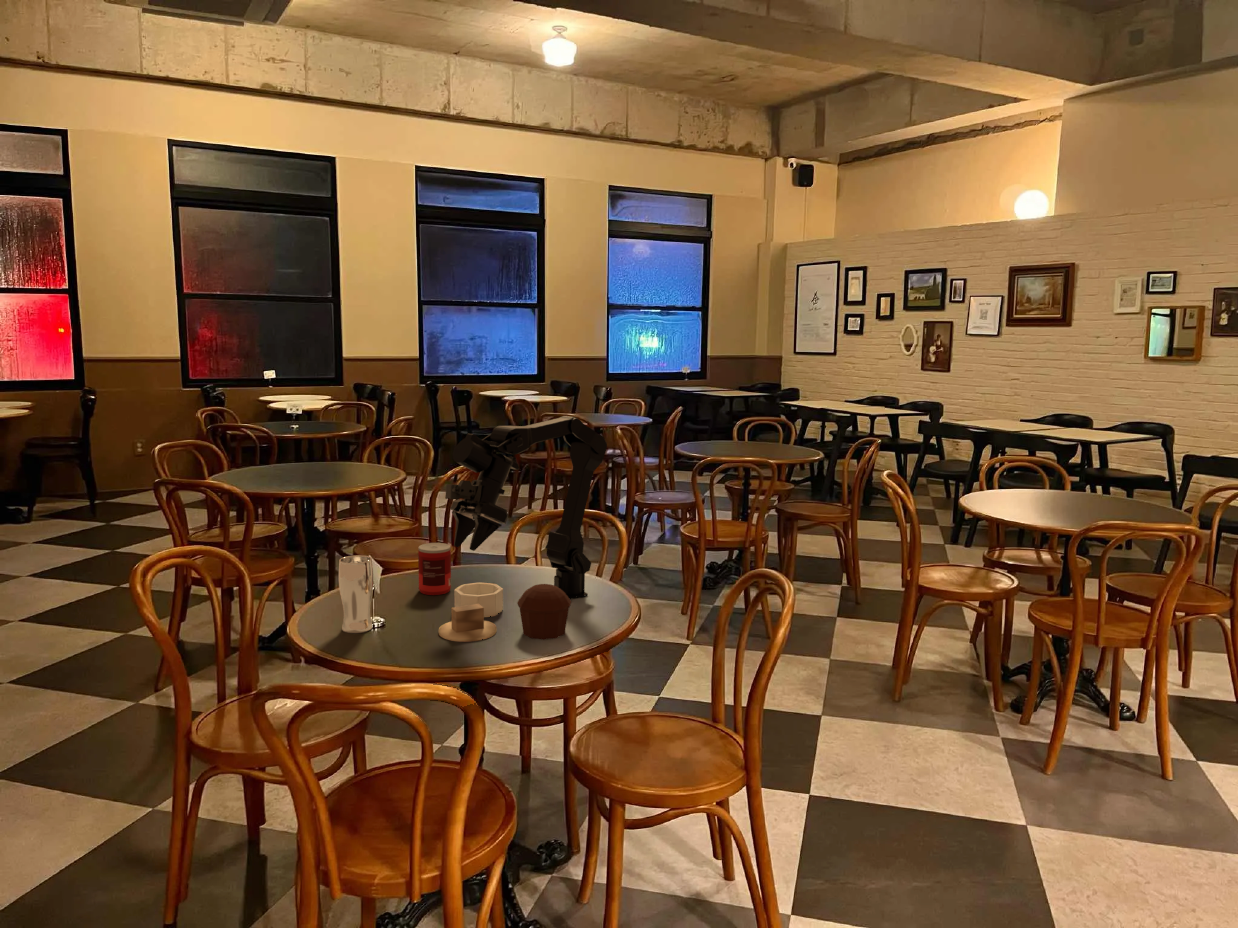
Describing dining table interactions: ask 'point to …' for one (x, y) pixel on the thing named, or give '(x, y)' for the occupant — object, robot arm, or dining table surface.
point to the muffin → (544, 611)
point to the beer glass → (356, 592)
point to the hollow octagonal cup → (480, 597)
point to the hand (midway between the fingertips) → (463, 548)
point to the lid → (467, 625)
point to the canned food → (434, 568)
